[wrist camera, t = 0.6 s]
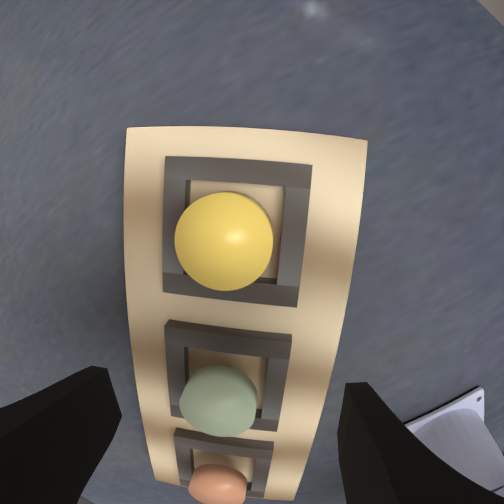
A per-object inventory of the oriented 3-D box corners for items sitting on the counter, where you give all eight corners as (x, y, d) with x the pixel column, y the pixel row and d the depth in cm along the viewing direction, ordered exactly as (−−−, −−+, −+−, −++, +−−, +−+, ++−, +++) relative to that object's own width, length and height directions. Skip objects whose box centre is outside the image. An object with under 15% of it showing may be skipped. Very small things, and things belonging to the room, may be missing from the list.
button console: (293, 477, 22) (293, 508, 18) (164, 459, 22) (152, 486, 19) (355, 144, 15) (372, 139, 12) (147, 132, 16) (119, 126, 13)
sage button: (269, 409, 15) (267, 427, 14) (209, 424, 16) (203, 442, 14) (237, 356, 14) (232, 373, 13) (173, 376, 15) (165, 392, 14)
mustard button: (288, 257, 13) (288, 268, 12) (210, 291, 14) (202, 304, 12) (249, 175, 12) (244, 176, 11) (171, 215, 13) (158, 220, 12)
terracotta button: (256, 488, 17) (254, 504, 16) (210, 494, 18) (206, 509, 16) (231, 460, 16) (227, 477, 15) (182, 467, 17) (177, 482, 16)
